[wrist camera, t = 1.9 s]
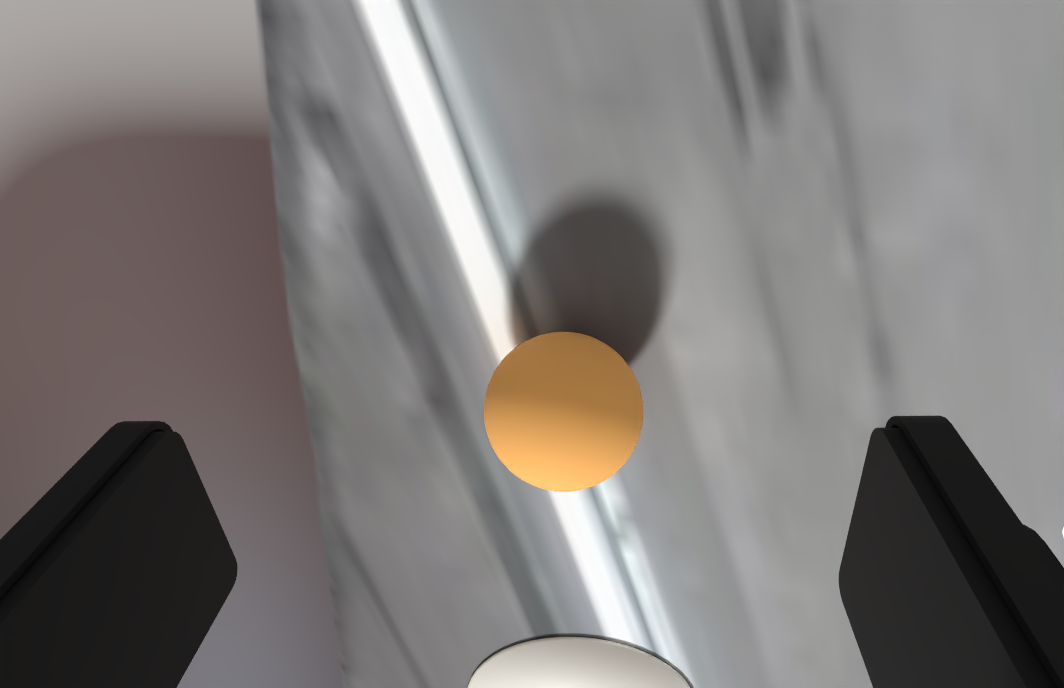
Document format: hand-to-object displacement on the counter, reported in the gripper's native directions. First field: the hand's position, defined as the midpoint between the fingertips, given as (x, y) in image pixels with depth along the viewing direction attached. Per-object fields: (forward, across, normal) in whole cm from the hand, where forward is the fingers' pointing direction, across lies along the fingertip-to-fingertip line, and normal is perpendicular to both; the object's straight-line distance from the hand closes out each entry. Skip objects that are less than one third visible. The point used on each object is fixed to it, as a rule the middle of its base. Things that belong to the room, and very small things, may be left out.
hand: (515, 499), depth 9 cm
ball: (+14, 0, +9) cm, 16 cm away
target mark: (+17, +1, +34) cm, 38 cm away
